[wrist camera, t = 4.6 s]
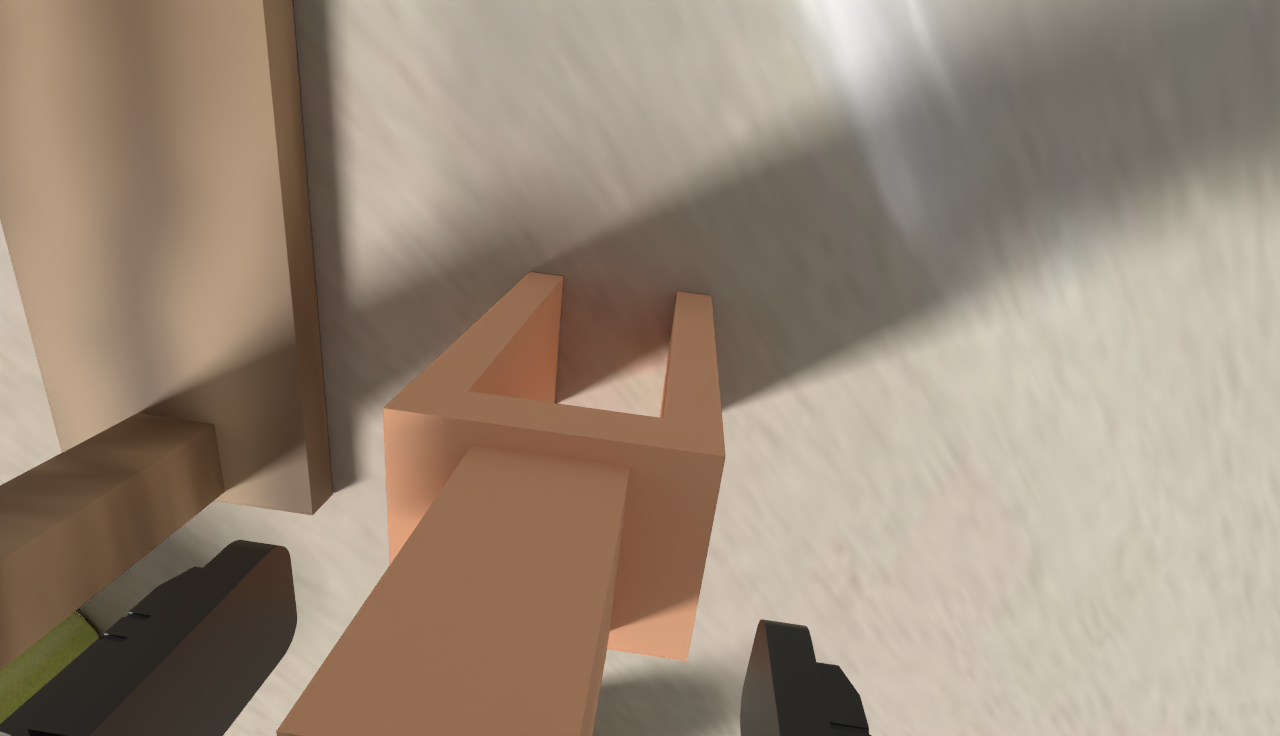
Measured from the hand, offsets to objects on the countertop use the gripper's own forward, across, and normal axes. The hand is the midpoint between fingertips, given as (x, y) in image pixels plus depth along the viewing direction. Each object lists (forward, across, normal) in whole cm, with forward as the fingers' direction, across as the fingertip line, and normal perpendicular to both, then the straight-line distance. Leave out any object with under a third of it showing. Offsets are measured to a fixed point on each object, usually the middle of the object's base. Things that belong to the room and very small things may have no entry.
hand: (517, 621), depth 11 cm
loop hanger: (+13, 0, 0) cm, 13 cm away
